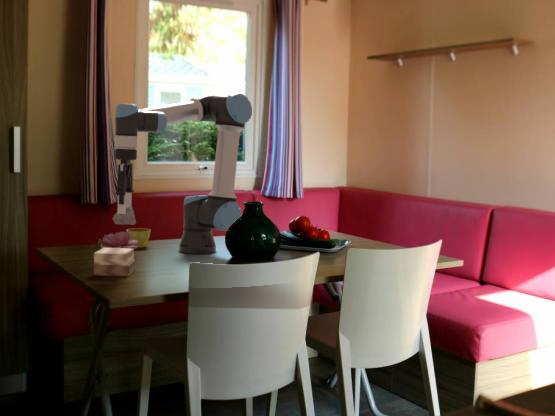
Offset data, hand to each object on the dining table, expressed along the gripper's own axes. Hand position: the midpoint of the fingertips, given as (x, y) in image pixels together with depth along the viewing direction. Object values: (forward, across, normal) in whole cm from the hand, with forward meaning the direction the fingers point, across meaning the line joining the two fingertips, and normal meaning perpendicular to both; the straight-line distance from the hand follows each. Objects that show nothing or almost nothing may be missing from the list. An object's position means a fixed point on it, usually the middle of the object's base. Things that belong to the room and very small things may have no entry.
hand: (124, 212), depth 256 cm
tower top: (+17, +4, -2) cm, 18 cm away
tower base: (+21, +4, -2) cm, 22 cm away
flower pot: (+20, -48, -3) cm, 53 cm away
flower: (+21, -25, -6) cm, 33 cm away
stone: (+4, 0, +1) cm, 4 cm away
